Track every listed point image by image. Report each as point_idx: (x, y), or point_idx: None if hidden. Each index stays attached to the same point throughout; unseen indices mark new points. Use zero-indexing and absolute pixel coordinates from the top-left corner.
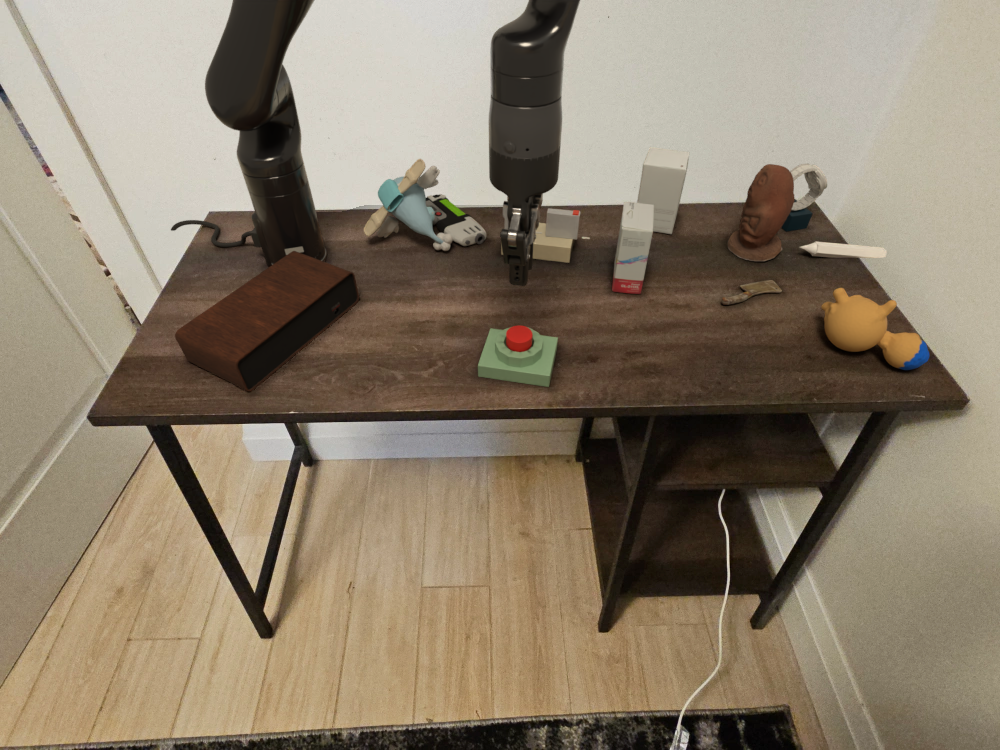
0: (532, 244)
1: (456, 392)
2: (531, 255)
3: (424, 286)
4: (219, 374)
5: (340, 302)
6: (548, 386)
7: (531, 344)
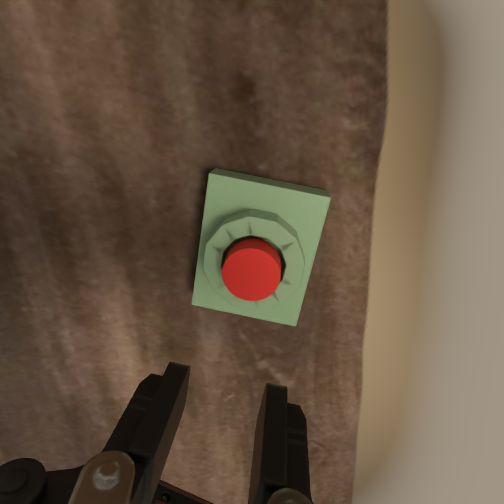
0: (144, 457)
1: (330, 341)
2: (170, 413)
3: (74, 389)
4: None
5: (152, 502)
6: (327, 191)
7: (262, 241)
